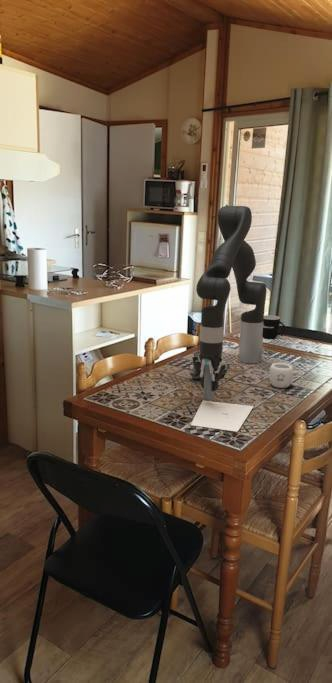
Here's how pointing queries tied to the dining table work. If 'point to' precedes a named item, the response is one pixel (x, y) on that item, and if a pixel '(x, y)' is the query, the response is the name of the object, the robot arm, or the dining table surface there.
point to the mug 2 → (282, 375)
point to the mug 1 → (271, 327)
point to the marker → (207, 382)
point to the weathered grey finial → (195, 376)
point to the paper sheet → (221, 415)
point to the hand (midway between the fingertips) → (209, 388)
